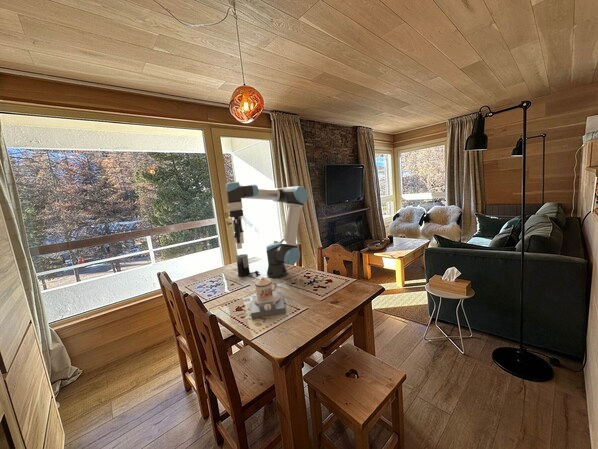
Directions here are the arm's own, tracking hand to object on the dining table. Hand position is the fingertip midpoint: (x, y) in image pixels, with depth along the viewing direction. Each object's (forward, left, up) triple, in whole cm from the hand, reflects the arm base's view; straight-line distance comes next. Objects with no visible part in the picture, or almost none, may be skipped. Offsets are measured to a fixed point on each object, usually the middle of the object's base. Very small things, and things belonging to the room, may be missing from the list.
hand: (240, 245), depth 148 cm
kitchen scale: (+17, +12, -32) cm, 38 cm away
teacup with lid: (+14, +12, -28) cm, 33 cm away
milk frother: (-40, -1, -32) cm, 51 cm away
